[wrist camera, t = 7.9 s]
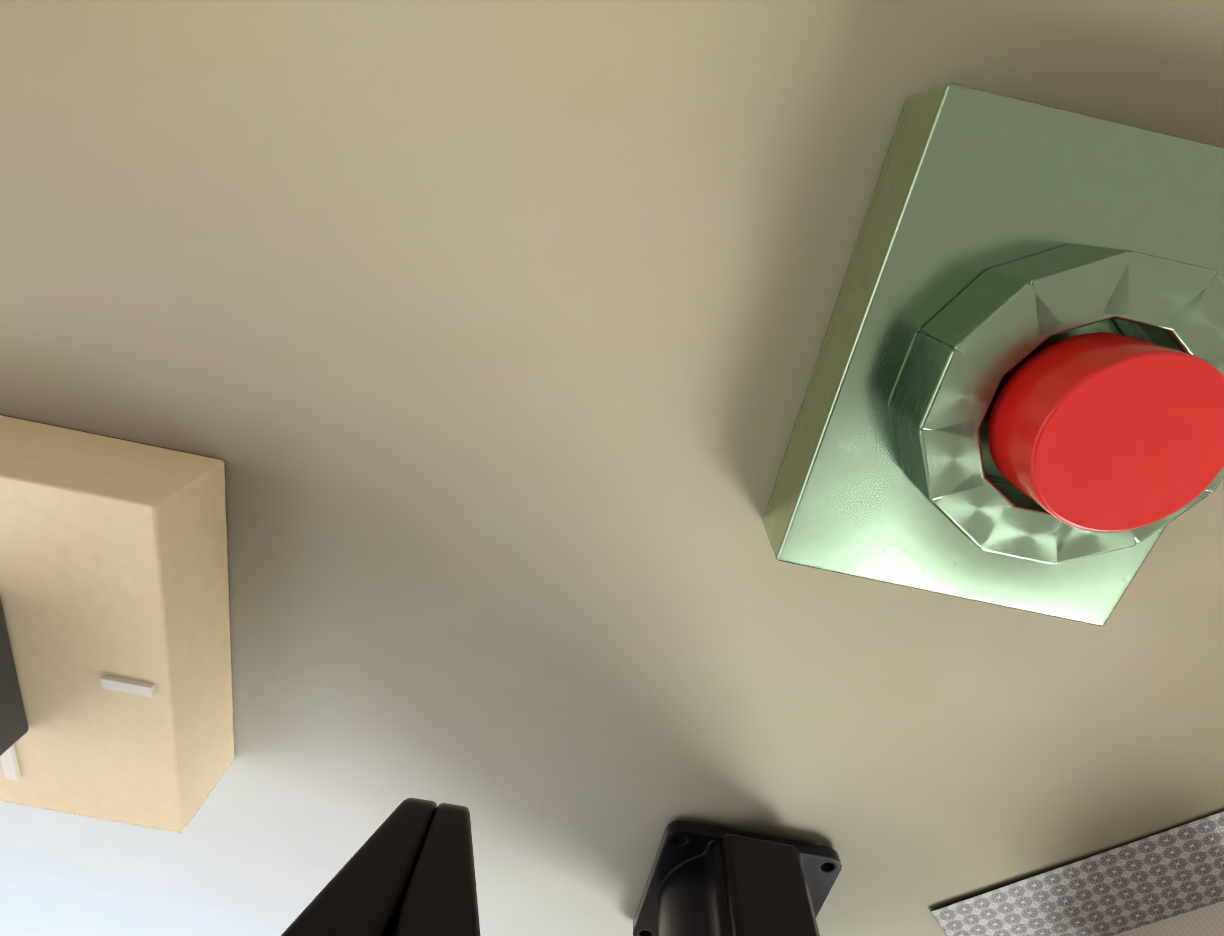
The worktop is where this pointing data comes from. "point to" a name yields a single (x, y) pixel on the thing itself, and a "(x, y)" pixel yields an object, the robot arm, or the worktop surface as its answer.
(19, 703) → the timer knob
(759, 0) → the worktop surface
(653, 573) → the worktop surface
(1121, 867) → the napkin holder
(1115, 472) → the power button
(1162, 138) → the box
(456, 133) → the worktop surface
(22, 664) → the panel
